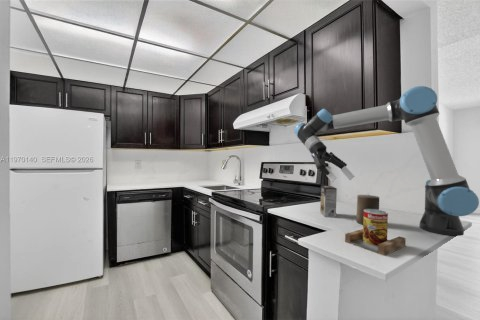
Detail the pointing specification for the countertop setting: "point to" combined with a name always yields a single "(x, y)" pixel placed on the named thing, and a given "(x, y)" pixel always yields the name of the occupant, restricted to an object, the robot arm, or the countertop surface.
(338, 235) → the countertop surface
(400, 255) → the countertop surface
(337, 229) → the countertop surface
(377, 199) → the pillar candle
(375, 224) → the canned food
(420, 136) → the robot arm
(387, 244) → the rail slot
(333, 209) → the coffee box
